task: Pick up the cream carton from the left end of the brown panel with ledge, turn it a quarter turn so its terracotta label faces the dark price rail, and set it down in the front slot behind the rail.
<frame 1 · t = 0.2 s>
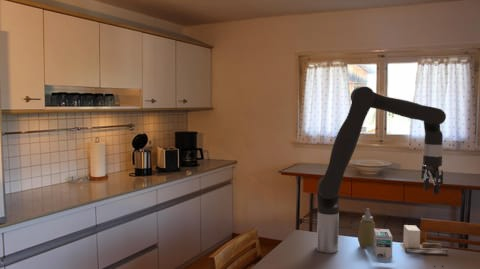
hand: (431, 191, 188), 28 cm above the table, tool pointing down, fingers open, 8 cm apart
carton: (411, 247, 193), point 1 cm above the table, touching brown panel with ledge
brown panel with ledge: (422, 252, 192), on the table
squeeze bottle: (366, 247, 198), on the table
light bulb box: (382, 256, 187), on the table
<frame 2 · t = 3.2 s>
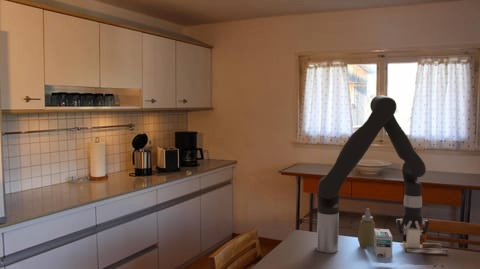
hand: (411, 242, 193), 4 cm above the table, tool pointing down, fingers closed on carton, 5 cm apart
carton: (411, 247, 193), point 2 cm above the table, touching gripper, brown panel with ledge
everything else where it was.
when the fingers open (5 cm above the table, at t = 9.2 s): carton stays where it is, resting on brown panel with ledge.
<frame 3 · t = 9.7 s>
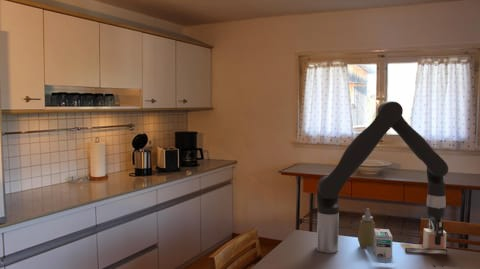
hand: (434, 241, 189), 6 cm above the table, tool pointing down, fingers open, 8 cm apart
carton: (434, 250, 190), point 1 cm above the table, touching brown panel with ledge
everything else where it was.
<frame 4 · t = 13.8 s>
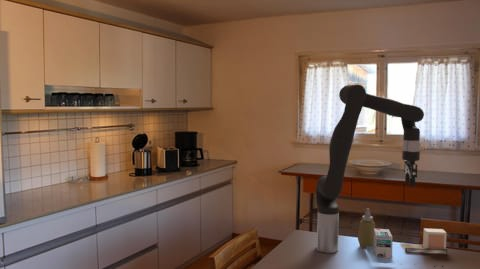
hand: (410, 184, 201), 28 cm above the table, tool pointing down, fingers open, 8 cm apart
nothing on the table moved.
at the end: carton 0.2 cm from the target spot, point 1.5 cm above the table; carton tilted 0°; the gripper is holding nothing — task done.
